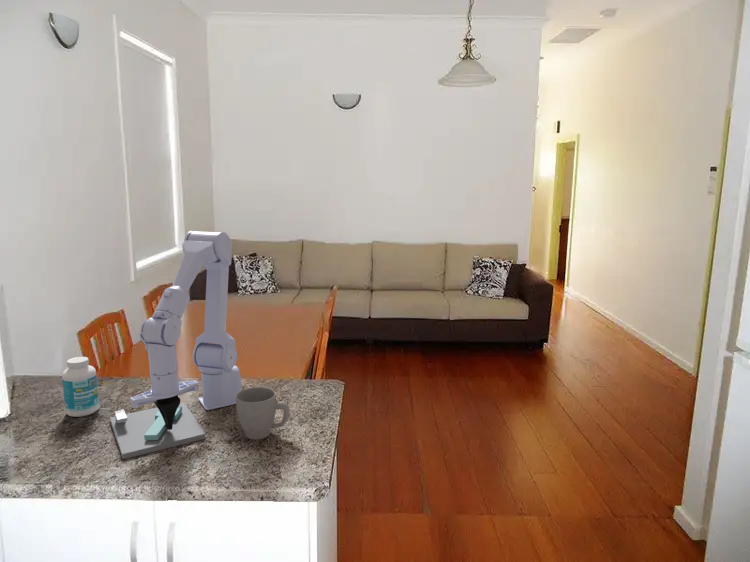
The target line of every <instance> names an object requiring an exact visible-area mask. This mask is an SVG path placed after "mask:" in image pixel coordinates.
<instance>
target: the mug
mask: <svg viewBox="0 0 750 562" xmlns="http://www.w3.org/2000/svg"><path fill="white" fill-rule="evenodd" d="M235 405H236V412H237V413H236V414H237V418H238V420H239V423H240V426H241V428H242V430H243V431H244V434H245V436H246V438H248V439H250V440H262V439H266V438H267V437H268V436H270V433H271V430H272V429H278V428H282V427H284V426H285V425H286V423H287V421H288V420H289V418H290V415H291V412H290V406H289V405H288V404H287V402H285V401H278V400H277V393H276V391H275V389H272V388H270V387H266V386H254V387H253V386H252V387H249V388H248V387H247V388H245V389H242V391H240V392H239V393H238V394H237V395H236V404H235ZM277 410H283V415H282V419H281V421H279V422H277V423H275V420H276V419H275V418H276V411H277Z"/></svg>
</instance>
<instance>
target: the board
mask: <svg viewBox="0 0 750 562" xmlns="http://www.w3.org/2000/svg"><path fill="white" fill-rule="evenodd" d="M178 407H182V412H181V414H180V415H179V417H178V418H177V419H176V420H173V426H172V429H171V430H168V429H167V428H166V429H165V431H164V432H163V433H162V435H161V436H160V438H159V439H158V440H145V439H144V435H145V433H146V432H147V431H148V430H149V428H150V427H151V426H152V424H153V423H154V422H155V415H156V413H157V412H158V411H159V409H158V408H157V407H154V408H153V407H151V408H148V409H144V410H138V411H134V412H129V413H125V414H126V416H127V421H126V422H125V423H121V424H116V422H115V416H110V417H109V420H110V425H111V428H112V431H113V434H114V437H115V440H116V443H117V447H118V450H119V453H120V456H121V458H122V460H126V459H129V458H134V457H138V456H141V455H142V456H143V455H145V454H149V453H154V452H158V451H161V450H165V449H166V450H167V449H170V448H174V447H178V446H182V445H185V444H190V443H193V442H198V441H201V440H205V439H206V433H205V431H204V430H203V428H202V427H201V425H200V424H199V423H198V421H197V419H196V418H195V416H194V415H193V413H192V412H191V410H190V409H189V407H187V405H186V403H185V402H184V401H180V405H179V406H178Z"/></svg>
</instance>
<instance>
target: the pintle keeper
mask: <svg viewBox="0 0 750 562" xmlns="http://www.w3.org/2000/svg"><path fill="white" fill-rule="evenodd" d="M126 414H127V413H126V411H125V410H124V408H122V409H119V410H114V417H115V422H116V424H121V423H125V422H126V421H127V416H126Z"/></svg>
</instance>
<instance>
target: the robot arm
mask: <svg viewBox="0 0 750 562" xmlns="http://www.w3.org/2000/svg"><path fill="white" fill-rule="evenodd" d="M181 245H182V246H181V248H182V251H183V256H182V259H181V261H180V265H179V267H178V270H177V273H176V275H175V278H174V281H173V284H172V285H171V286H169V287H167V288H165V289H164V291H163V292H162V295H161V298H160V299H159V301H158V304H157V305H156V308H155V310H154V312H153V314H152V316H151V317H149V318H148V319H146V320H144V322H143V323H142V325H141V328H140V332H139V337H140V340H141V341H142V343H143V344H144V348H145V351H146V352H147V357H148V365H149V366H148V367H149V368H148V369H149V379H150V389H149V390H147V391H145V392H142V393H140V394H137V395H135V396H132V397H130V399H129V400H130V406H131V407H132V408H133V409H138V408H140V407H141V406H144V405H148V404H152V403H154V405H155V406H156V408H158V409H159V411H160V413H161V415H162V417H163V419H164V422H165V426H166V428H167V429H168V430H171V429H172V426H173V420H174V416H175V413H176V411H177V408H178V406H179V405H180V402H181V397H179V396H180V395H184V394H187V393H191V392H197V391H199V390H200V387H199V386H200V385H199V384H200V383H199V382H198V381H196V380H195V379H194V380H190V381H189V380H188V381H184V382H183V381H182V382H179V369H178V359H177V346H176V344H177V342H178V341H179V339H180V338H181V335H182V334H181V333H182V324H183V320H182V318H183V315H184V313H185V311H186V309H187V307H188V305H189V302H190V299H191V298H190V295H189V293H188V292H189V290H190V288H191V286H192V285H193V283H194V281H195V280H196V277H197V276H198V274H199V272H200V270H201V269H202V267H204V268H205V269H206V286H205V305H204V306H205V307H204V308H205V309H204V311H205V312H204V328H203V329H204V330H203V332H202V333H201V334H199V336H197V337H196V338H195V343H194V344H195V345H194V348H193V351H192V357H191V358H192V362H193V365H195V366H196V367H197V368H198V371H199V372H200V375H201V376H200V377H201V378H200V379H201V389H202V390H201V391H202V396H201V397H200V396H199V397H198V400H197V401H199V403H200V404H201V405H202V406H203V408H204V409H205V410H206V411H211V410H214V409H215V410H216V409H218V408H224V407H228V406H233V405H236V395H237V394H238V393H239V392H240V391H242V390H243V388H242V376H241V375H242V374H241V371H240V369H239V367H238V366H237V365H236V363H237V360H238V352H237V351H238V350H237V348H236V339H235V338H234V337H233V336H232V335H230V334H229V333H228V332H227V311H228V291H229V290H228V289H229V271H230V268H229V267H230V266H231V265H232V259H233V258H232V257H233V256H232V255H233V240H232V239H231V238H230V236H229V235H228V233H227V232H225V231H220V232H216V231H197V230H190V231H188V232H187V233H186V234H185V236H184V239H183V242H182V244H181Z"/></svg>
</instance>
